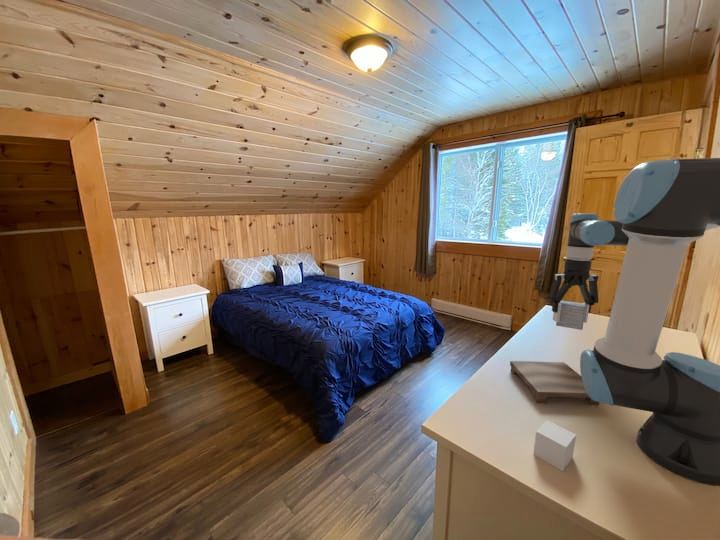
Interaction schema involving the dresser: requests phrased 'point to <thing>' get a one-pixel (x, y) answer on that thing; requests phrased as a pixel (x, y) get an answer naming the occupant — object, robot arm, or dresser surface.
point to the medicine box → (572, 315)
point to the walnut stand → (551, 380)
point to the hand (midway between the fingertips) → (569, 321)
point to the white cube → (554, 444)
